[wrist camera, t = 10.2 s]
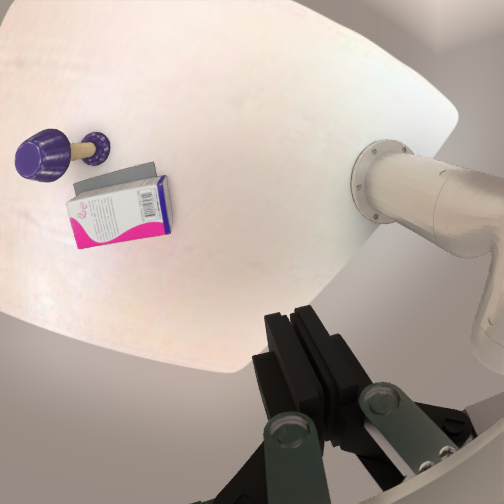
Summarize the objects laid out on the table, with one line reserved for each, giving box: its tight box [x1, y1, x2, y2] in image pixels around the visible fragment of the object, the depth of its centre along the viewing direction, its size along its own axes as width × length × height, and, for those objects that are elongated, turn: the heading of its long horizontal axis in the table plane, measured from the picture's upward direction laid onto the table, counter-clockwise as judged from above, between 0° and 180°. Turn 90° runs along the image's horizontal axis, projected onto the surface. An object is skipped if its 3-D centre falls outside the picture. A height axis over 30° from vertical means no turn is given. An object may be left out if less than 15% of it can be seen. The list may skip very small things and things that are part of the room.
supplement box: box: [66, 175, 173, 249], centre depth 32 cm, size 6×6×12 cm
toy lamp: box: [15, 129, 110, 182], centre depth 24 cm, size 5×5×17 cm
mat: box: [73, 162, 157, 196], centre depth 35 cm, size 11×7×1 cm, turn 99°
